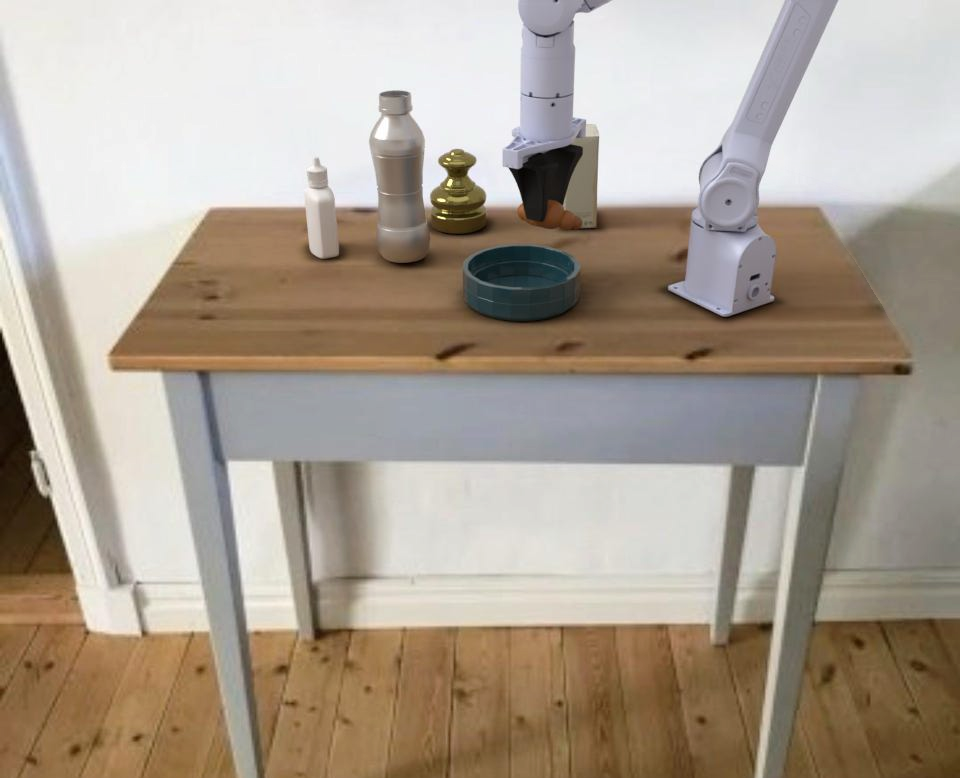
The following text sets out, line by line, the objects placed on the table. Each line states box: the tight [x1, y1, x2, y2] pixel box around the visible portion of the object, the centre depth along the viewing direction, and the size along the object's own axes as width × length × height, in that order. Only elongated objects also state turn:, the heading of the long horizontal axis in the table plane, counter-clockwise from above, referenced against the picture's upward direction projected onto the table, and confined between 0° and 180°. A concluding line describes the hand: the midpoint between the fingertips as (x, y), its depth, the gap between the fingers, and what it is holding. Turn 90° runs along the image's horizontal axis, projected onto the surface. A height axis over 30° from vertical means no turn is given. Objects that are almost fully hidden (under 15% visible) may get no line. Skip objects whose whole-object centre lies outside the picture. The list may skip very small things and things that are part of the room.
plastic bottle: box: [368, 89, 431, 264], centre depth 128 cm, size 6×7×20 cm
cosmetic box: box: [563, 123, 600, 229], centre depth 140 cm, size 6×4×12 cm
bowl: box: [462, 243, 581, 322], centre depth 122 cm, size 13×13×4 cm
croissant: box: [516, 199, 582, 231], centre depth 122 cm, size 4×8×3 cm, turn 56°
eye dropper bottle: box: [304, 156, 340, 260], centre depth 132 cm, size 4×6×12 cm
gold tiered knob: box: [429, 148, 487, 235], centre depth 140 cm, size 7×7×10 cm
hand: (544, 214), depth 122 cm, fingers closed on croissant, 3 cm apart
